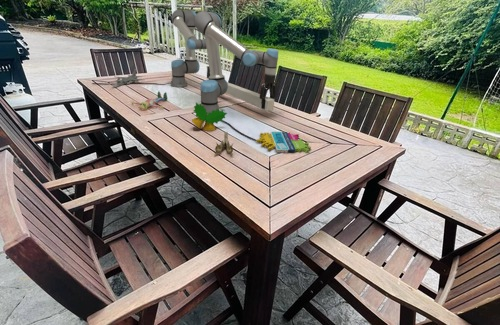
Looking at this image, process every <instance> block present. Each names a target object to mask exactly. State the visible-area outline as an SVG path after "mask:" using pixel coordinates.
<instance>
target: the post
mask: <svg viewBox="0 0 500 325" xmlns="http://www.w3.org/2000/svg"><path fill="white" fill-rule="evenodd" d="M227 83H228V89H227V91H226V92H225V93H224V94H226V95H229V96H231V97H234V98H235V99H237V100H241V101H243V102H245V103H248V104H250V105H252V106H254V107H257V108H260V109H262V108H261V106H262V104H261V101H262V99H260V93H258V92H256V91H253V90H250V89H247V88H244V87H242V86H239V85H236V84H233V83H230V82H229V81H227ZM263 98H264V97H263ZM265 100H266V102H265V109H263V110H264V111H266V112H269V111H273V110H274V108H275V98H274V99H272V98H270V96H266V97H265Z"/></svg>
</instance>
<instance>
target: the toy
mask: <svg viewBox="0 0 500 325" xmlns="http://www.w3.org/2000/svg"><path fill="white" fill-rule="evenodd" d="M167 100H168V94H167V92H166V91H165V92H164V93H163V96H162V94H161V92H160V91H157V97H155V98H148V99H146V100H145V101H142V102H135V101H134V100H132V101H130V103H131V105H139V106H138V107H137V109H140V111H141V110H142V111H145V110H148V108H159V109H161V110H165V108H166V107H165V106H163V104H161V105H157V104H158V103H159V102H160V101H163V102H166V101H167Z"/></svg>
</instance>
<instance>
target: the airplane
mask: <svg viewBox="0 0 500 325" xmlns="http://www.w3.org/2000/svg"><path fill="white" fill-rule="evenodd" d="M127 76H128V77H127ZM127 76H126V77H122V76H113V78H117V79H116V84H112V86H111V87H110V89H111V88H118V87H120V86H123V85H131V84H130V83H139V81H145V79H143V78H142V77H143V75H142V76H141V75H137V68H134V70H133V72H132V74H128V75H127Z"/></svg>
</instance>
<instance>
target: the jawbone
mask: <svg viewBox="0 0 500 325" xmlns="http://www.w3.org/2000/svg"><path fill="white" fill-rule="evenodd" d="M223 135H224V136H223V140H222V139H221V142H220V144H218V142H215V144H216V146H215V148H214V149H215V152H214V154H215V155H217V156H218V155H220V153H221V152H223V151H224V150H226V152H227V153H228V155H229V156H233V155H234V154H233V153H234V148H233V144H234V143H230V140H228V139H229V138H228V137H229V136H228V135H229V133H228V131H226V132H224V134H223Z"/></svg>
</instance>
